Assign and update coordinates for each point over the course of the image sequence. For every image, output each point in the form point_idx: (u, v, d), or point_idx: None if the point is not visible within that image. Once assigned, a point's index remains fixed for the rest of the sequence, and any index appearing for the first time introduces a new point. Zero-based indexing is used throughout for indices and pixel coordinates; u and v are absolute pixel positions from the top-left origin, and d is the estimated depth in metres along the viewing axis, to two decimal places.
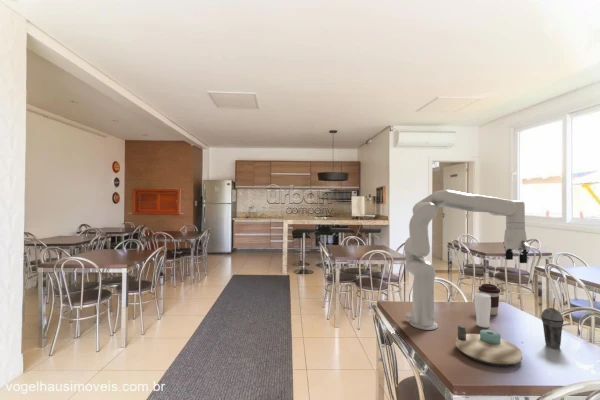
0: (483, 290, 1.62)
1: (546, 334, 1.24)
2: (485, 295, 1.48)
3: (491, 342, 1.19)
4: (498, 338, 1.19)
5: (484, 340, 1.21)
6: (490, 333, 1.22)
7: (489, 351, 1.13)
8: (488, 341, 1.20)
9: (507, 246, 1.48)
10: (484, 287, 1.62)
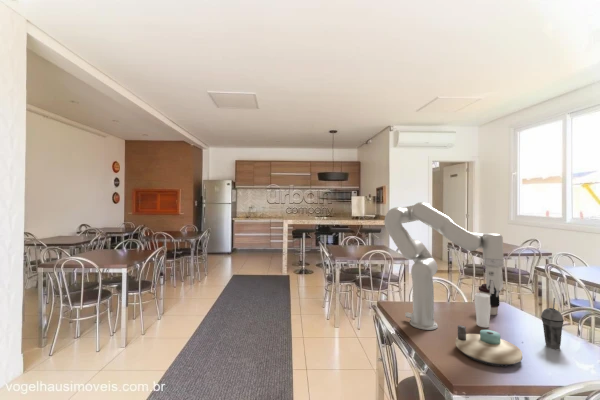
0: (483, 290, 1.62)
1: (546, 334, 1.24)
2: (485, 295, 1.48)
3: (491, 342, 1.19)
4: (498, 338, 1.19)
5: (484, 340, 1.21)
6: (490, 333, 1.22)
7: (489, 351, 1.13)
8: (488, 341, 1.20)
9: (501, 288, 1.26)
10: (484, 287, 1.62)
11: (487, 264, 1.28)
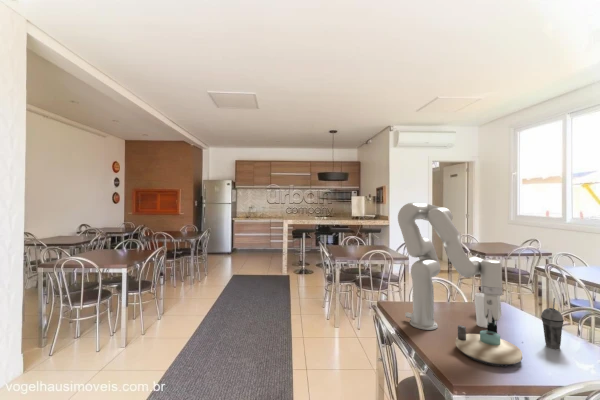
0: None
1: (546, 334, 1.24)
2: None
3: (491, 343, 1.18)
4: (498, 339, 1.18)
5: (484, 341, 1.20)
6: (490, 334, 1.21)
7: (489, 351, 1.13)
8: (488, 342, 1.19)
9: (499, 317, 1.23)
10: None
11: (485, 292, 1.24)
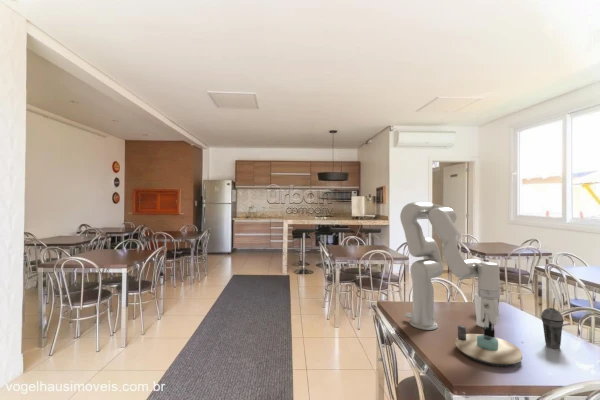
0: None
1: (546, 334, 1.24)
2: None
3: (488, 348, 1.14)
4: (496, 344, 1.14)
5: (481, 346, 1.16)
6: (487, 339, 1.17)
7: (489, 351, 1.13)
8: (485, 347, 1.14)
9: (496, 322, 1.18)
10: None
11: (482, 295, 1.20)
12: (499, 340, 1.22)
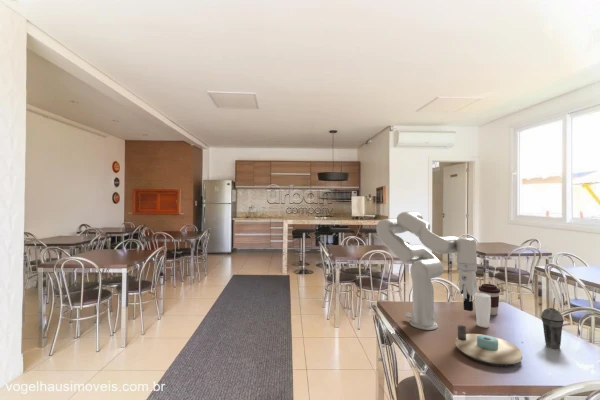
0: (483, 290, 1.62)
1: (546, 334, 1.24)
2: (485, 295, 1.48)
3: (488, 348, 1.14)
4: (496, 344, 1.14)
5: (481, 346, 1.16)
6: (487, 339, 1.17)
7: (489, 351, 1.13)
8: (485, 347, 1.14)
9: (474, 293, 1.26)
10: (484, 287, 1.62)
11: (460, 268, 1.28)
12: (499, 340, 1.22)
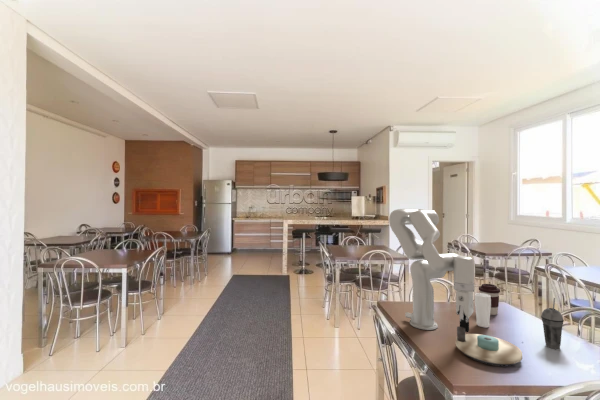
0: (483, 290, 1.62)
1: (546, 334, 1.24)
2: (485, 295, 1.48)
3: (491, 349, 1.14)
4: (497, 344, 1.14)
5: (483, 347, 1.15)
6: (488, 339, 1.17)
7: (492, 351, 1.13)
8: (488, 348, 1.14)
9: (471, 314, 1.22)
10: (484, 287, 1.62)
11: (457, 288, 1.24)
12: None
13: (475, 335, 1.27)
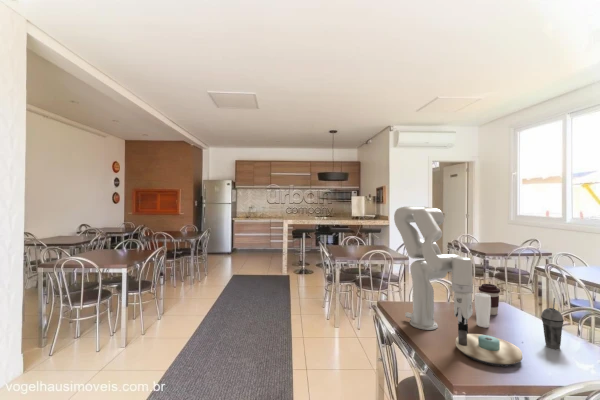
0: (483, 290, 1.62)
1: (546, 334, 1.24)
2: (485, 295, 1.48)
3: (495, 349, 1.13)
4: (499, 343, 1.15)
5: (488, 348, 1.14)
6: (489, 339, 1.16)
7: (497, 352, 1.13)
8: (493, 348, 1.13)
9: (469, 316, 1.19)
10: (484, 287, 1.62)
11: (455, 290, 1.21)
12: None
13: (467, 335, 1.27)
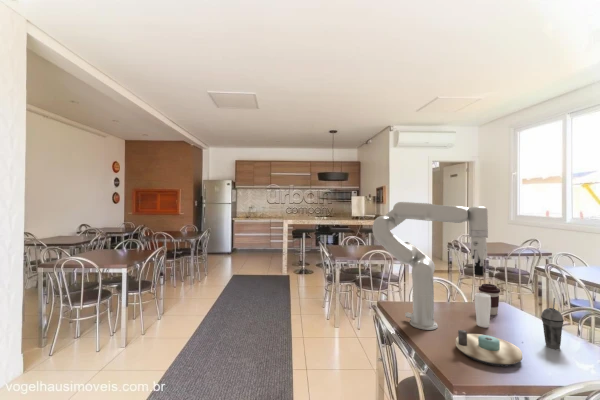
0: (483, 290, 1.62)
1: (546, 334, 1.24)
2: (485, 295, 1.48)
3: (495, 349, 1.13)
4: (499, 343, 1.15)
5: (488, 348, 1.14)
6: (489, 339, 1.16)
7: (498, 352, 1.13)
8: (493, 348, 1.13)
9: (484, 258, 1.33)
10: (484, 287, 1.62)
11: (472, 235, 1.35)
12: None
13: (467, 335, 1.27)
